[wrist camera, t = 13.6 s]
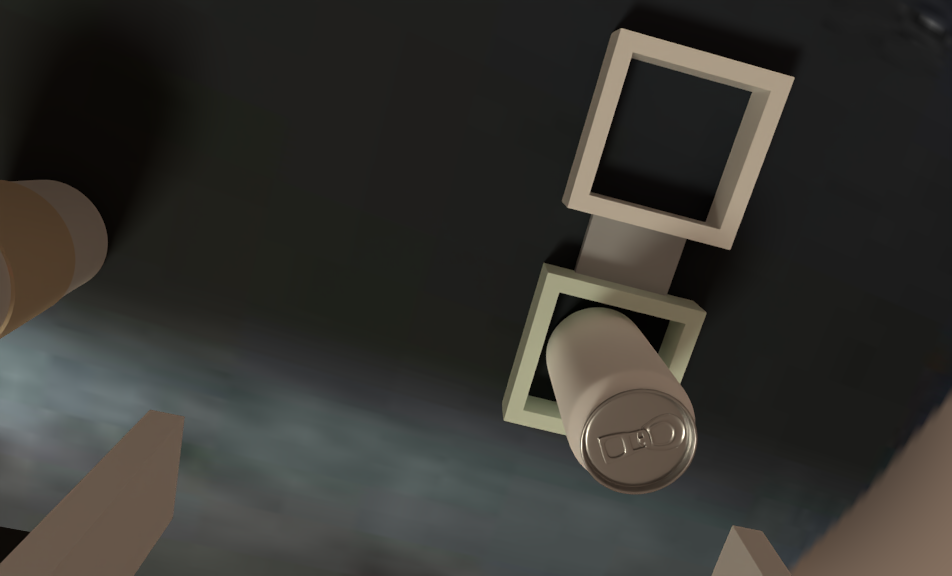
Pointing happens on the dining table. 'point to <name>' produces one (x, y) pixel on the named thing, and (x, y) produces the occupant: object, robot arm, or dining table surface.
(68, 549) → the robot arm
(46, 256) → the coffee cup
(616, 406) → the can
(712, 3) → the dining table surface
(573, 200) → the socket panel
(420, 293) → the dining table surface
